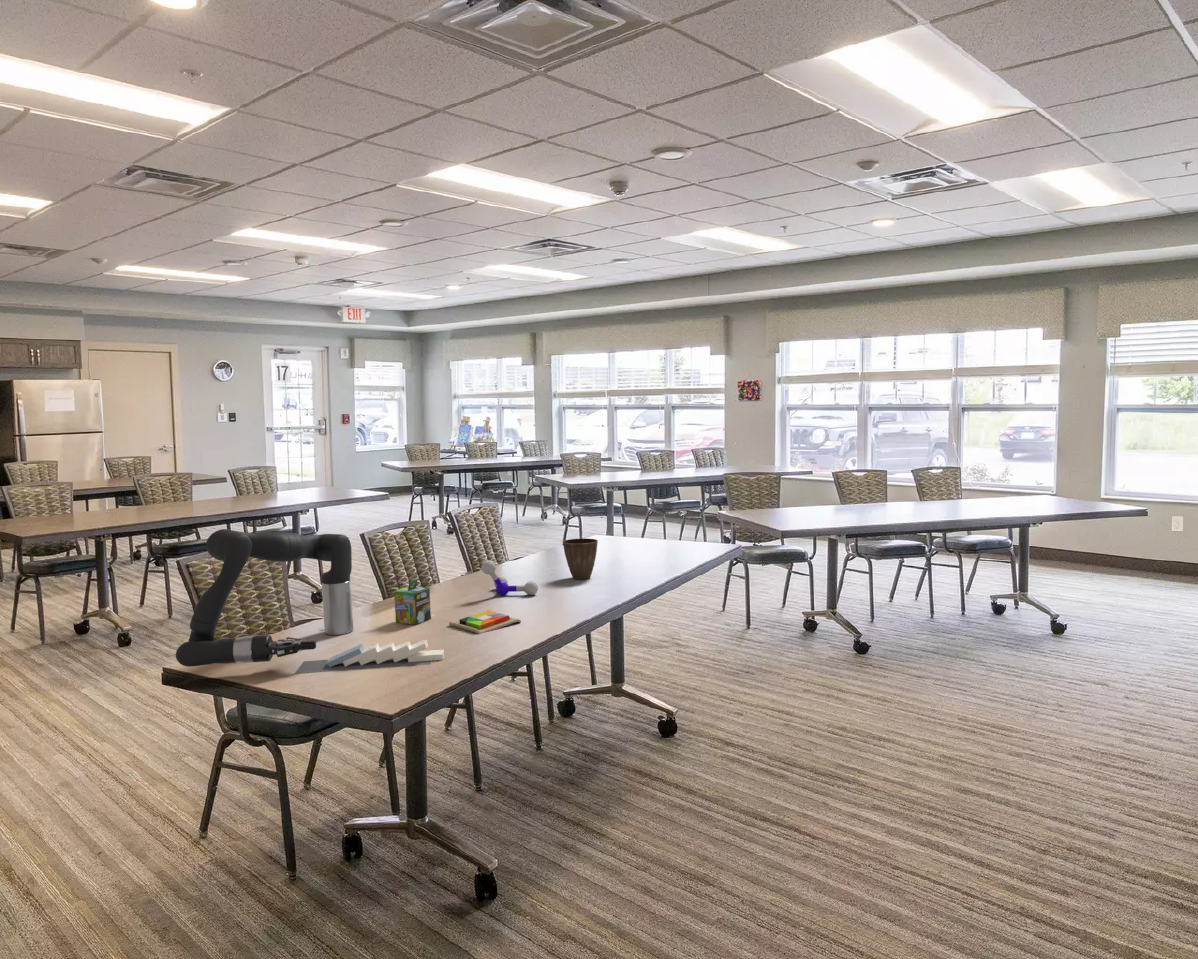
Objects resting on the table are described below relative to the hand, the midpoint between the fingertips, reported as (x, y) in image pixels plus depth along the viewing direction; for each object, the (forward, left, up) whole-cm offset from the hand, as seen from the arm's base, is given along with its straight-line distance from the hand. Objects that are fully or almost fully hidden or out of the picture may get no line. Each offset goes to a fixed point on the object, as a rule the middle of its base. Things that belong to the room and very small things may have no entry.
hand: (315, 644), depth 244 cm
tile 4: (-5, +16, -6) cm, 18 cm away
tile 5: (-7, +21, -6) cm, 23 cm away
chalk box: (-54, +9, -7) cm, 55 cm away
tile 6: (-8, +25, -6) cm, 27 cm away
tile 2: (-3, +7, -6) cm, 10 cm away
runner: (-5, +13, -7) cm, 16 cm away
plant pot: (-126, +57, -7) cm, 138 cm away
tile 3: (-4, +12, -6) cm, 14 cm away
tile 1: (-2, +3, -6) cm, 7 cm away
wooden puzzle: (-50, +36, -8) cm, 62 cm away
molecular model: (-97, +35, -7) cm, 103 cm away
